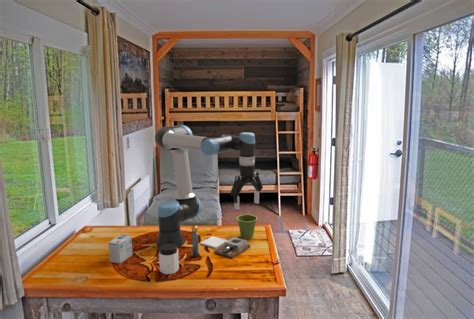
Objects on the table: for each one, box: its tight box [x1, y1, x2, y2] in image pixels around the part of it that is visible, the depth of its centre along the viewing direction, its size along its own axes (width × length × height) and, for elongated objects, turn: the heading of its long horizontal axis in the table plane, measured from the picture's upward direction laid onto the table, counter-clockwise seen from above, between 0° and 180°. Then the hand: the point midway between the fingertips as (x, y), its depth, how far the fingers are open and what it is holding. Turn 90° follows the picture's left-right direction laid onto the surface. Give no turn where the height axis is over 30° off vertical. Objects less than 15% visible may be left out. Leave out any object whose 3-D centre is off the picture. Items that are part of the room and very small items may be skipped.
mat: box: [199, 236, 229, 250], centre depth 211 cm, size 11×11×1 cm
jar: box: [158, 243, 180, 275], centre depth 179 cm, size 9×8×12 cm
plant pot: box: [236, 214, 258, 239], centre depth 219 cm, size 12×12×11 cm
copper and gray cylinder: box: [191, 225, 200, 258], centre depth 194 cm, size 3×3×16 cm
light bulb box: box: [107, 234, 133, 264], centre depth 193 cm, size 11×7×11 cm, turn 160°
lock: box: [214, 236, 251, 259], centre depth 201 cm, size 12×16×4 cm
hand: (246, 206), depth 189 cm, fingers open, 13 cm apart
